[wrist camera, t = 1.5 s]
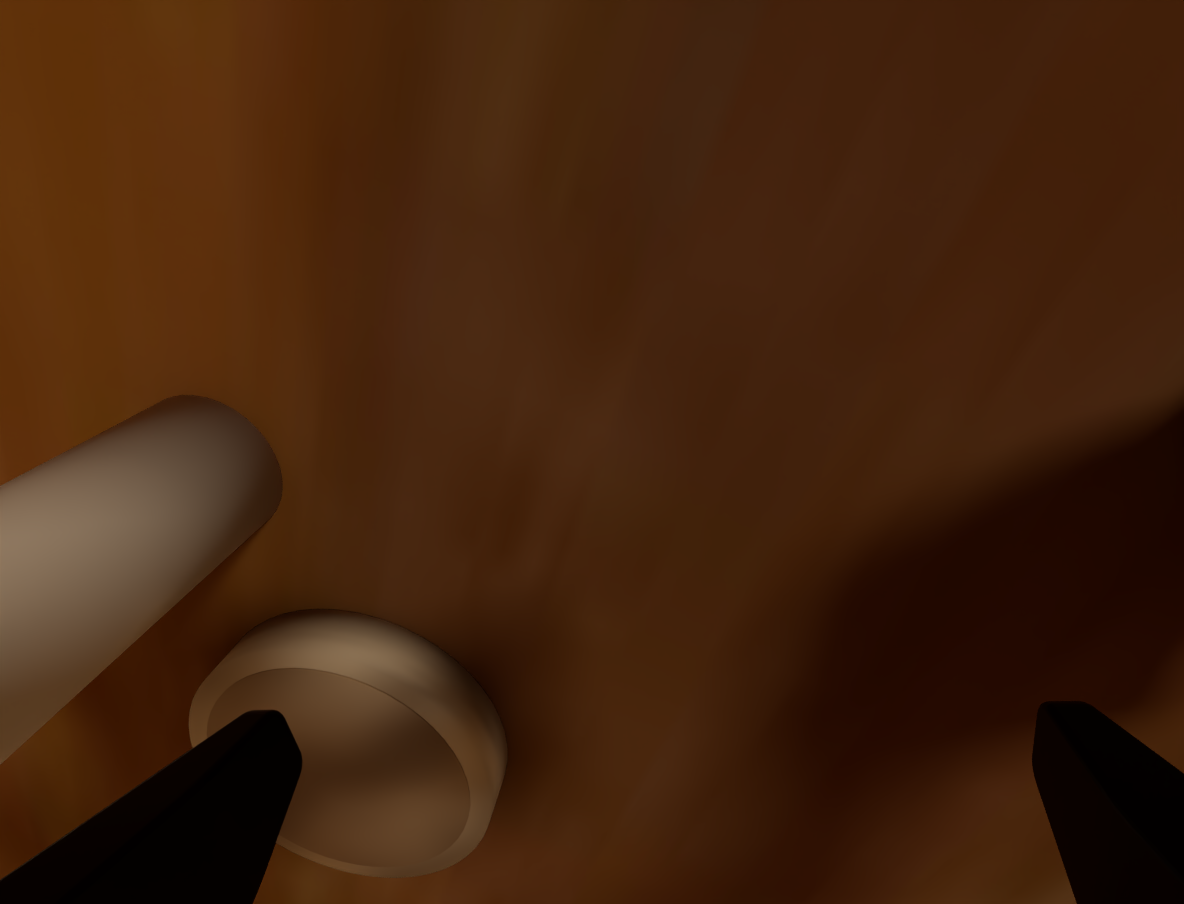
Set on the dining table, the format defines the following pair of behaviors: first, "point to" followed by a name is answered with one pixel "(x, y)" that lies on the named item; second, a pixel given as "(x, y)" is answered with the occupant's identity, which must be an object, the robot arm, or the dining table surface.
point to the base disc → (367, 739)
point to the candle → (118, 544)
